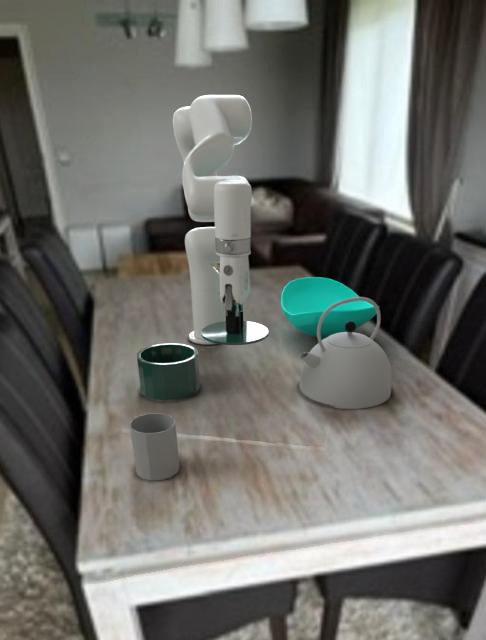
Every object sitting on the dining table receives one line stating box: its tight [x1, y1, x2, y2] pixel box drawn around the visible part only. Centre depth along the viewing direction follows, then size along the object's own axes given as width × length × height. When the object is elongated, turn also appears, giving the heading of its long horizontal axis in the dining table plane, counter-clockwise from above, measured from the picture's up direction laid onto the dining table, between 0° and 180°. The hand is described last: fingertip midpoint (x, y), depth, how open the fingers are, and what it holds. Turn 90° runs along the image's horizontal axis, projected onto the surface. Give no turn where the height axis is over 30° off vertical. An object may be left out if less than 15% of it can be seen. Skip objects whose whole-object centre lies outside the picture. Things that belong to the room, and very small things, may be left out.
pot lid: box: [201, 309, 270, 346], centre depth 130 cm, size 16×16×6 cm
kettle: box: [299, 296, 393, 410], centre depth 135 cm, size 25×23×22 cm
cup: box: [129, 412, 180, 481], centre depth 107 cm, size 8×8×10 cm
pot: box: [136, 342, 201, 401], centre depth 140 cm, size 15×15×10 cm
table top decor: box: [280, 276, 380, 340], centre depth 173 cm, size 40×28×13 cm
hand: (234, 330), depth 131 cm, fingers closed on pot lid, 2 cm apart
